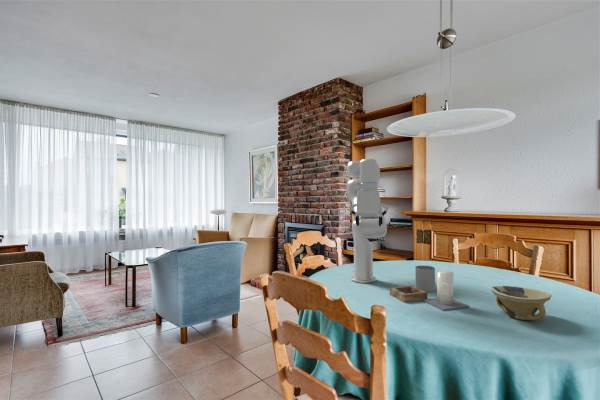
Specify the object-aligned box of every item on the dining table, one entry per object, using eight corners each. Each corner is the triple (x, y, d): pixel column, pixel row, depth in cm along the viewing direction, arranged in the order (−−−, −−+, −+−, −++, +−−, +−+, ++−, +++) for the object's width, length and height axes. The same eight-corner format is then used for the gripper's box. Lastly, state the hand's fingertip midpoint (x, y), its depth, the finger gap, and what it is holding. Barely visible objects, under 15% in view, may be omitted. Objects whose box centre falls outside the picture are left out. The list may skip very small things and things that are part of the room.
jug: (436, 299, 131) (436, 270, 131) (452, 300, 129) (452, 271, 129) (437, 305, 124) (437, 274, 124) (454, 307, 122) (454, 275, 122)
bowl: (565, 323, 107) (565, 294, 107) (524, 330, 102) (524, 300, 102) (516, 306, 124) (516, 281, 124) (479, 311, 119) (479, 285, 119)
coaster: (423, 300, 132) (423, 299, 132) (447, 297, 135) (447, 296, 135) (443, 310, 120) (443, 309, 120) (469, 307, 123) (469, 305, 123)
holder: (389, 294, 140) (389, 287, 140) (411, 292, 143) (411, 285, 143) (404, 302, 130) (404, 295, 130) (427, 299, 133) (427, 292, 133)
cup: (436, 292, 143) (436, 269, 143) (417, 291, 145) (417, 269, 145) (432, 286, 151) (432, 265, 151) (414, 286, 153) (414, 265, 153)
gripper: (347, 187, 141) (347, 226, 141) (388, 186, 135) (388, 227, 135) (350, 187, 148) (351, 224, 148) (389, 186, 142) (389, 225, 142)
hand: (368, 225), depth 141 cm, fingers open, 9 cm apart
